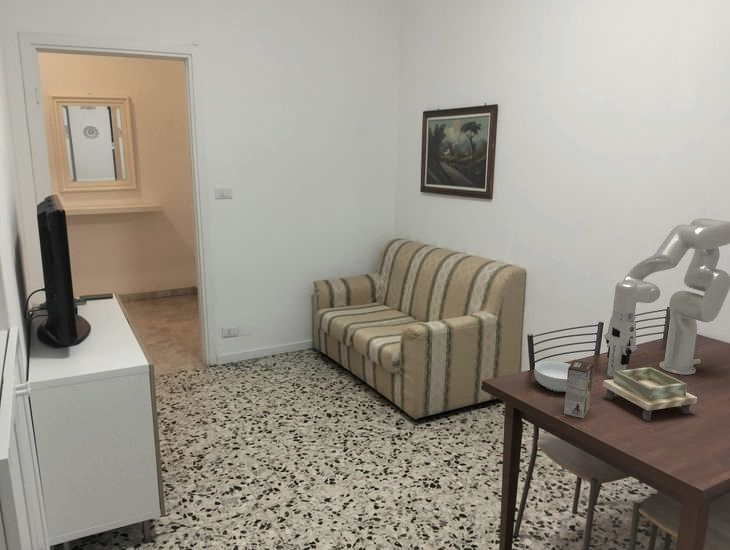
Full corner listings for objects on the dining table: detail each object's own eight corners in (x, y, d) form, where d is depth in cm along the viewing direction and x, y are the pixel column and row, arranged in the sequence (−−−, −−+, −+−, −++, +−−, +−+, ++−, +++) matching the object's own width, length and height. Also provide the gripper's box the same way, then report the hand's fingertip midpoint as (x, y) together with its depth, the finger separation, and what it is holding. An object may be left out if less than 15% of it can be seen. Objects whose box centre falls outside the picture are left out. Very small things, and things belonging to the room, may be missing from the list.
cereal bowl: (548, 399, 191) (550, 380, 190) (524, 380, 207) (525, 362, 206) (592, 395, 195) (594, 376, 194) (565, 377, 211) (566, 359, 209)
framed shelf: (646, 390, 200) (650, 364, 198) (694, 414, 181) (699, 385, 179) (601, 396, 194) (604, 369, 192) (646, 422, 175) (650, 393, 173)
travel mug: (621, 374, 214) (626, 324, 210) (627, 380, 208) (633, 329, 204) (604, 373, 215) (609, 323, 211) (610, 380, 209) (615, 329, 204)
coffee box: (569, 403, 188) (574, 358, 185) (589, 408, 185) (594, 362, 181) (563, 414, 180) (567, 367, 177) (583, 419, 177) (589, 371, 174)
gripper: (649, 321, 199) (643, 368, 203) (614, 308, 215) (609, 352, 219) (633, 322, 197) (627, 370, 201) (598, 309, 213) (593, 354, 217)
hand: (617, 360), depth 210 cm, fingers closed on travel mug, 6 cm apart
